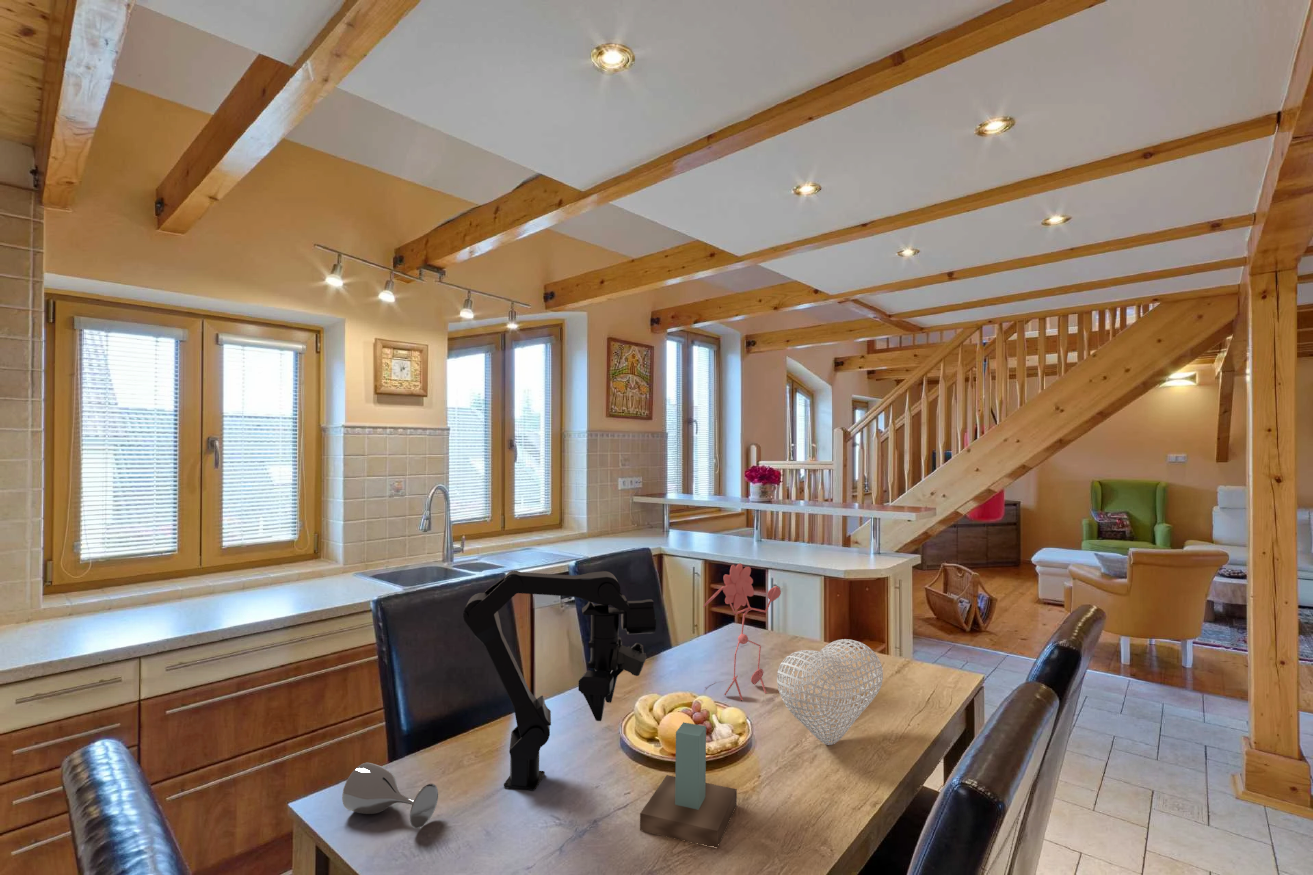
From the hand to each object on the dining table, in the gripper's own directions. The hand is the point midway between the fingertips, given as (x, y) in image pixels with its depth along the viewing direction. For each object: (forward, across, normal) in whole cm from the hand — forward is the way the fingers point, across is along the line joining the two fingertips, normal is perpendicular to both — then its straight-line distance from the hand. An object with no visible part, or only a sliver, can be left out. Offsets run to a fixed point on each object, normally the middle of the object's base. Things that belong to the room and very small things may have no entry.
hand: (604, 711), depth 131 cm
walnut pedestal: (+13, -12, -19) cm, 26 cm away
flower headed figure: (+13, +51, -26) cm, 59 cm away
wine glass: (+9, -22, +27) cm, 36 cm away
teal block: (+10, -12, -19) cm, 25 cm away
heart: (+13, +22, -48) cm, 54 cm away
